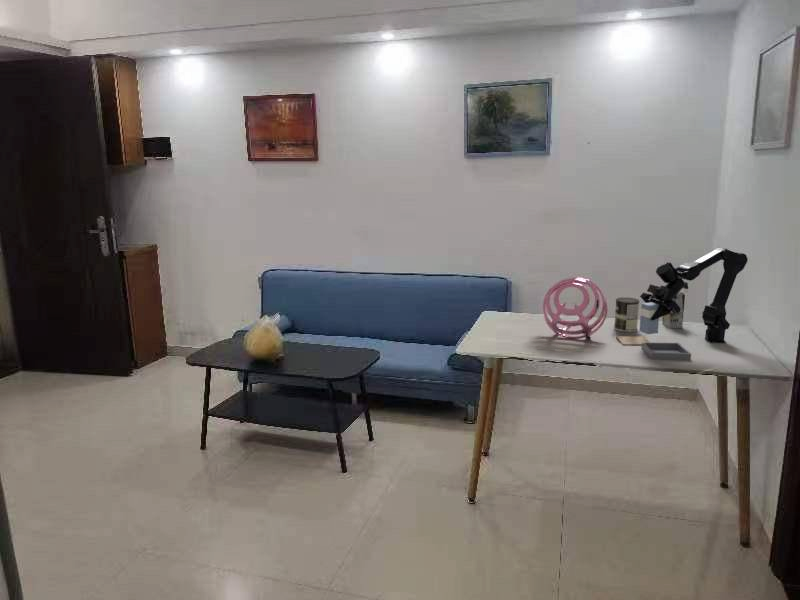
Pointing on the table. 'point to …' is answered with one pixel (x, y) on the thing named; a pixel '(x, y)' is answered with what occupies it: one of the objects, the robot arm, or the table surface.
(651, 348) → the tray
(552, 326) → the spiral basket
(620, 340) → the pad
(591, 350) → the table surface
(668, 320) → the coffee box
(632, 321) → the coffee can
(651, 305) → the carton
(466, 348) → the table surface
